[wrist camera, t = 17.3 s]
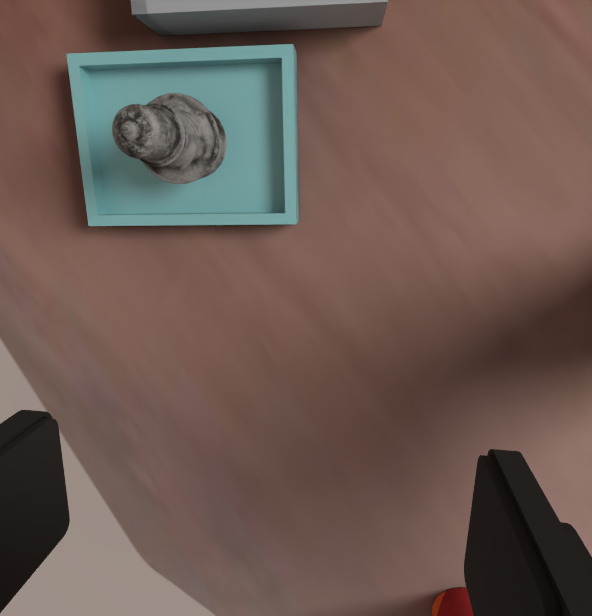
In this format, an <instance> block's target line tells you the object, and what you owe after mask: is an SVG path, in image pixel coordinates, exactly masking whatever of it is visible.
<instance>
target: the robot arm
mask: <svg viewBox="0 0 592 616" xmlns="http://www.w3.org/2000/svg"><path fill="white" fill-rule="evenodd" d="M69 521H70V520H69V510H68V501H67V493H66V485H65V477H64V469H63V461H62V452H61V445H60V436H59V428H58V423H57V421H56V420H55V419H52V416H51V415H50V413H48V412H42V411H31V410H21V411H19V412H17V413H16V414H14V415H13V416H11V417H10V418H8V419H7V420H5V421H4V422H3V423H1V424H0V613H1V611H2V610H3V609H4V608H5V607H6V605H7V604H8V603H9V602H10V601H11V599H12V598H13V597H14V596H15V595H16V593H17V592H18V591H19V590H20V589H21V587H22V586H23V585H24V584H25V582H26V581H27V580H28V579H29V578H30V577H31V575H32V574H33V573H34V572H35V571H36V569H37V568H38V567H39V566H40V565H41V563H42V562H43V561H44V559H45V558H46V557H47V556H48V555H49V554H50V552H51V551H52V550H53V549H54V548H55V546H56V545H57V544H58V542H59V541H60V540H61V539H62V538H63V537H64V535H65V534H66V531H67V529H68V526H69ZM464 576H465V583H466V587H467V591H468V595H469V599H470V603H471V607H472V611H473V615H474V616H592V557H591V555H590V554H589V552H588V550H587V549H586V547H585V545H584V544H583V542H582V540H581V539H580V537H579V535H578V534H577V532H576V530H575V529H574V528H573V527H572V525H570V524H568V523H561V522H560V521H559V519H558V517H557V516H556V514H555V512H554V510H553V509H552V507H551V505H550V503H549V502H548V500H547V498H546V496H545V494H544V493H543V491H542V489H541V487H540V486H539V484H538V482H537V480H536V479H535V477H534V475H533V473H532V472H531V470H530V468H529V466H528V464H527V463H526V461H525V459H524V457H523V456H522V454H521V453H520V452H518V451H507V450H495V449H490V450H489V452H488V455H487V456H482V455H480V456H479V458H478V463H477V470H476V478H475V485H474V493H473V500H472V508H471V516H470V523H469V531H468V538H467V546H466V554H465V561H464Z"/></svg>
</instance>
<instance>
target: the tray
mask: <svg viewBox="0 0 592 616" xmlns="http://www.w3.org/2000/svg"><path fill="white" fill-rule="evenodd" d="M67 62H68V70H69V77H70V85H71V93H72V101H73V109H74V117H75V124H76V132H77V140H78V148H79V156H80V164H81V171H82V179H83V187H84V195H85V203H86V211H87V218H88V226H156V225H273V224H297V223H298V222H299V177H298V113H297V53H296V50H295V47H294V45H293V44H281V45H258V46H234V47H211V48H188V49H164V50H141V51H118V52H95V53H71V54H67ZM167 93H181V94H185V95H188V96H191V97H193V98H195V99H196V100H198V101H200V102H201V103H202V104H203V105H204V106H205V107H206V108H207V109H208V110H209V111H211V112H212V113H213V114H214V115H215V116H216V117H217V118H218V119H219V120H220V122H221V124H222V126H223V127H224V130H225V134H226V137H227V149H226V154H225V157H224V159H223V161H222V163H221V165H220V166H219V167H218V169H217V170H216V171H215V172H213V173H212V174H210V175H209V176H207V177H204V178H200V179H198V180H196V181H194V182H190V183H187V184H173V183H169V182H166V181H163V180H161V179H160V178H158V177H156V176H154V175H153V174H152V173H151V172H150V171H149V170H148V169H147V168H146V167H145V165H144V163H143V162H142V161H141V160H140V159H136V158H132V157H130V156H128V155H126V154H124V153H123V152H122V151H121V150H120V149H119V148H118V147H117V145H116V143H115V141H114V138H113V135H112V124H113V120H114V118H115V115H116V114H117V113H118V112H119V110H121V109H122V108H123V107H125V106H128V105H131V104H141V105H147V104H148V103H149V102H151V101H152V100H154V99H155V98H156V97H158V96H161V95H164V94H167Z"/></svg>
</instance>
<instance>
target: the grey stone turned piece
mask: <svg viewBox="0 0 592 616" xmlns="http://www.w3.org/2000/svg"><path fill="white" fill-rule="evenodd" d="M112 135H113V138H114V141H115V143H116V145H117V147H118V148H119V149H120V150H121V151H122V152H123V153H124V154H126V155H128V156H130V157H132V158H136V159H140V160H141V161H142V162H143V163H144V165H145V167H146V168H147V169H148V170H149V171H150V172H151V173H152V174H153V175H154V176H156V177H158V178H160V179H161V180H163V181H166V182H169V183H173V184H187V183H190V182H194V181H196V180H198V179H200V178H204V177H207V176H209V175H210V174H212V173H213V172H215V171H216V170H217V169H218V167H219V166H220V165H221V163H222V161H223V159H224V157H225V154H226V149H227V137H226V134H225V130H224V127H223V126H222V124H221V122H220V120H219V119H218V118H217V117H216V116H215V115H214V114H213V113H212V112H211V111H209V110H208V109H207V108H206V107H205V106H204V105H203V104H202V103H201V102H200V101H198V100H196V99H195V98H193V97H191V96H188V95H185V94H181V93H167V94H164V95H161V96H158V97H156V98H155V99H154V100H152V101H151V102H149V103H148V104H147V105H141V104H131V105H128V106H125V107H123V108H122V109H121V110H119V112H118V113H117V114H116V115H115V118H114V120H113V124H112Z"/></svg>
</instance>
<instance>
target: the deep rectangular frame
mask: <svg viewBox="0 0 592 616" xmlns="http://www.w3.org/2000/svg"><path fill="white" fill-rule="evenodd" d="M387 2H388V0H131V10H132V15H133V16H135V17H136V18H137V19H139V20H140V21H141V22H143V23H144V24H145V25H146V26H148V27H149V28H150V29H152V30H153V31H154V32H156V33H157V34H158V35H160V36H168V35H189V34H211V33H233V32H255V31H277V30H299V29H321V28H343V27H365V26H381V25H382V21H383V18H384V14H385V10H386V6H387Z"/></svg>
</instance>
